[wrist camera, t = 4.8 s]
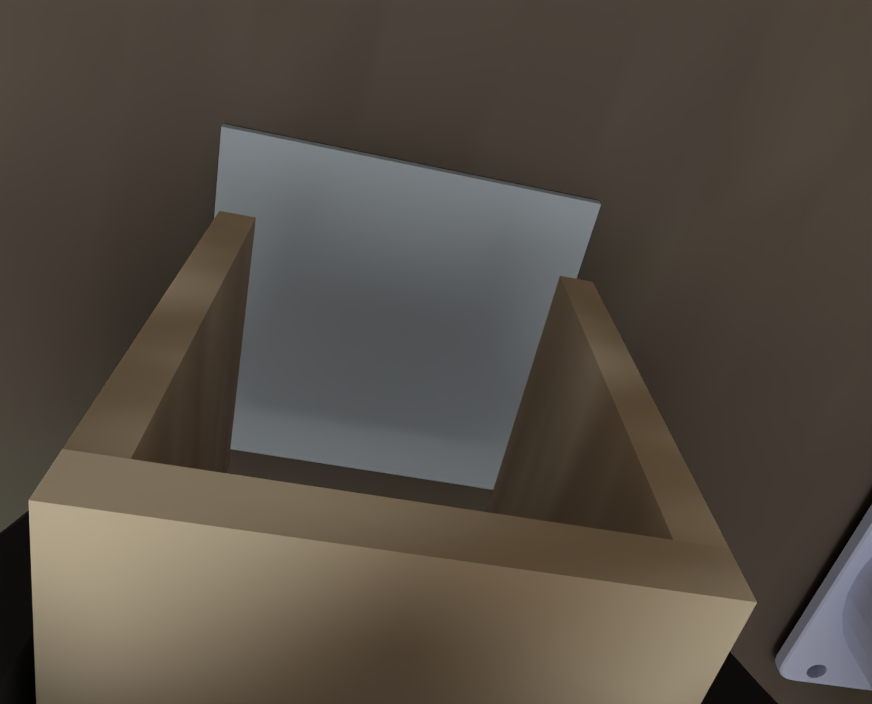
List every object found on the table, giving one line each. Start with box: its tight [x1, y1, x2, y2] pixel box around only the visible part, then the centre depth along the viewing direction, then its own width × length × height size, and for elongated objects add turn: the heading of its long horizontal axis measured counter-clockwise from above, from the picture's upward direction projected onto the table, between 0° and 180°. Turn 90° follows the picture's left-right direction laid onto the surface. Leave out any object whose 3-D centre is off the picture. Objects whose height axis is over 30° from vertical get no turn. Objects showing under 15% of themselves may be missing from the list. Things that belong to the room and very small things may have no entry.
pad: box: [214, 124, 601, 490], centre depth 16 cm, size 7×7×1 cm
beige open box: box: [29, 211, 757, 704], centre depth 10 cm, size 5×6×6 cm
